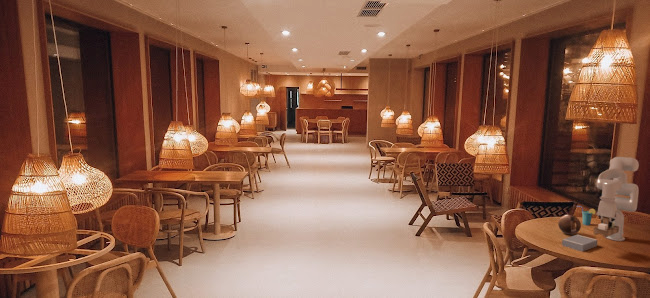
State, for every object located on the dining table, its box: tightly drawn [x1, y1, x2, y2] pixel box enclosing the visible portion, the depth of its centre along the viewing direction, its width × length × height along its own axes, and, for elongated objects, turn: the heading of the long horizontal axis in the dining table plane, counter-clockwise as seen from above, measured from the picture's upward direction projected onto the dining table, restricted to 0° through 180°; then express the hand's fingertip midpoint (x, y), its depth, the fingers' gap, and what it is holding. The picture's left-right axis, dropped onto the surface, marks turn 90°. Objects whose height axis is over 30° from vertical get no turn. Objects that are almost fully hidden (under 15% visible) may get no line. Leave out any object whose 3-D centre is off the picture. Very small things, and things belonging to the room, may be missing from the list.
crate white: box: [597, 222, 608, 231], centre depth 281 cm, size 4×4×4 cm
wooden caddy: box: [593, 217, 619, 238], centre depth 284 cm, size 17×8×11 cm, turn 123°
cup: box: [576, 205, 597, 226], centre depth 349 cm, size 14×8×15 cm, turn 55°
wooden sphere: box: [557, 214, 582, 236], centre depth 324 cm, size 15×15×15 cm
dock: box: [561, 234, 598, 252], centre depth 299 cm, size 20×14×5 cm
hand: (606, 226), depth 284 cm, fingers closed on wooden caddy, 3 cm apart
